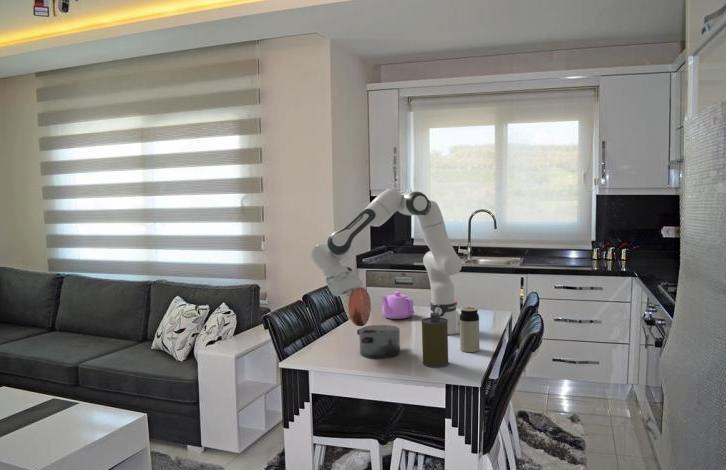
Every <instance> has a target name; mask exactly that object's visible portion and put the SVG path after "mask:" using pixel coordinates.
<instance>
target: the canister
mask: <svg viewBox="0 0 726 470" xmlns="http://www.w3.org/2000/svg"><path fill="white" fill-rule="evenodd" d="M430 316H431V317H429V318H428V317H424V318H422V319H421V320H420V321H421V338H422V339H421V341H422V343H421V345H422V348H421V349H422V362H421V363H422V365H423V366H424V367H427V368H433V369H434V368H444V367H447V366H449V365H450V362H449V335H448V326H447V322H448V319H446V318H441V317H439V316H440V315H439V313H431V315H430Z"/></svg>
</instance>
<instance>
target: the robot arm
mask: <svg viewBox="0 0 726 470" xmlns="http://www.w3.org/2000/svg"><path fill="white" fill-rule="evenodd" d="M395 213H398V214H400V215H403V216H417V218H418V220H419V224H420V228H421V232H422V235H423V240H424V243H425V244H426V245H427V247H428V248H429V250H428V251H427V252H425V254H424V256H423V259H422V263H423V266H424V267H425V270H426V273H427V275H428V276H427V277H428V279H429V285H430V296H431V297H430V299H431V301H430V305H429V306H430V311H429V312H428V314H427V318H429V317H431V316H430V315H431V313H439V315H440V316H439V317H441V318H446V319H448V322H447V326H448V336H449V335H456V334H457V335H458V334H459V335H460V314H461V313H460V312H459V311H458V310H457V306H458V301H457V300H455V285H454V283H453V282H452V280H451V276H454V275H457V274H458V273H459V272H460V271H461V270H462V268H463V267H462V266H463V262H462V259H461V257H460V256H459V255H458V253H456V250H455V248H454V247H453V244H452V243H451V241H450V239H449V236H448V232H447V229H446V225H445V221H444V217H443V214H442V211H441V209H440V206H439V205H438V202H436V201H435V200H429V198H428V197H427V196H426V194H424V193H423V192H420V191H413V190H410V191H406V192H405V191H404V192H399V191H398V190H396V189H394V188H387V189H385V190H384V191H382V192H381V193H379V194H378V195H377V196H376V197H375V198H374V199H373V200H372V201H370V202H369V204H368V205H367V206H366V207H365V208H364V209H362V211H361V212H360V213H358V214H357V215H356V216H355V217H354V218H353V219H352V220H350V221H349V222H348V223H347V224H346V225H345V226H344V227H342V228H340V229H338V230H335V231H334V232H332V233H331V234H329V237H328V238H327V242H325V243H324V242H322V243H321V242H319V243H318V244H316V245H314V247H313V249H312V251H311V253H310V254H311V259H312V261H313V262H314V264H315V266H316V267H317V268H318V269H319V270H320V271H321V272H322V273H323V275H324V276H325V283H326V286H327V288H328V289H329V290H330V292H331V294H332V295H333V296H335V297H337V298H338V297H340V296H343V295H347V296H348V297H349V298H350V295H351V293H352V291H353V290H354V289H355V288H357V287H362V288H363V286H364V283H363V281H362V279H361V278H360V277H359V275H357V273H355V272H354V268H352V267H348V266H345V265H343V264H344V262H346V261H348V260H350V258H351V257H352V256H353V254H354V249H353V248H354V247H353V245H352V243H353V241H354V239H355V238H356V237H357V236H358V235H359V234H361V232H362V231H364V230H365V229H366V228H367V227H369V226H370V227H381V226H382V225H383V224H385V223H386V222H387V221H388V220H389V219H391V217H392V216H393V215H394V214H395Z"/></svg>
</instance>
